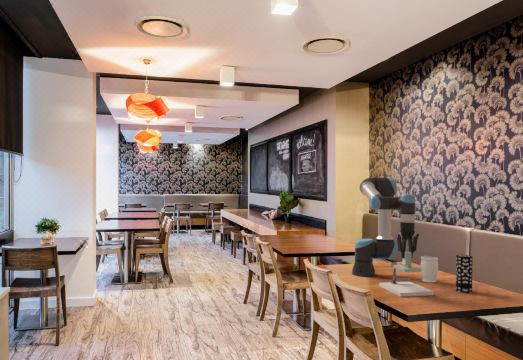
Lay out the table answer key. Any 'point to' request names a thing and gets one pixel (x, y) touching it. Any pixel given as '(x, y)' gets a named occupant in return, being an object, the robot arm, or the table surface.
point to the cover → (407, 265)
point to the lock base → (406, 289)
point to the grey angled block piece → (395, 274)
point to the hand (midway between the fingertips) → (406, 264)
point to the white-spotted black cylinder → (464, 273)
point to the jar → (429, 268)
